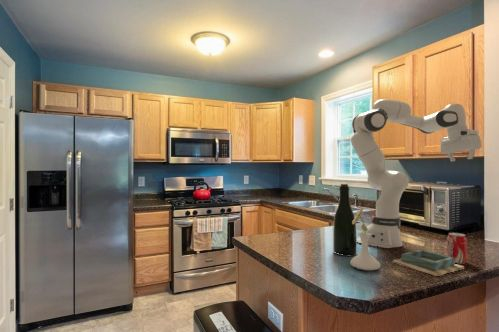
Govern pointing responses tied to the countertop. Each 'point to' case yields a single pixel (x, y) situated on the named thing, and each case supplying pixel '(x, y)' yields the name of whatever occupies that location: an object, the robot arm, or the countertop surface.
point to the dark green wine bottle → (344, 225)
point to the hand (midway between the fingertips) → (461, 160)
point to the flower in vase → (364, 249)
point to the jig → (429, 262)
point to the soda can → (457, 247)
